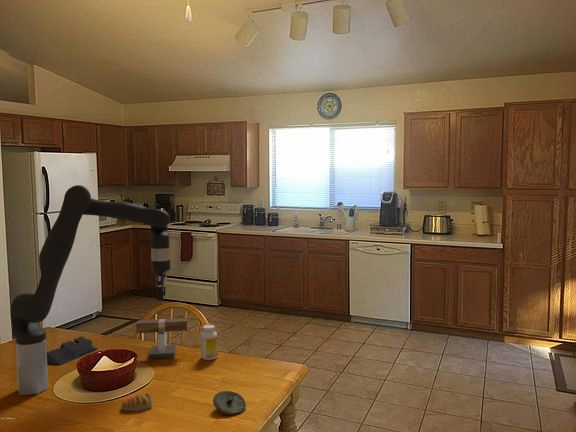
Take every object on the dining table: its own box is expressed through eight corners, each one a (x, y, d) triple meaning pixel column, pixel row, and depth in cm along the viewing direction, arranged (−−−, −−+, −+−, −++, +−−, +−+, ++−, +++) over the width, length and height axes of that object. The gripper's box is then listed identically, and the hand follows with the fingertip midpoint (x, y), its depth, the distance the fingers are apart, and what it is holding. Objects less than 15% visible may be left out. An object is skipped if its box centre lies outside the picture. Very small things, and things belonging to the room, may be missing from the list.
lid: (230, 398, 161) (229, 383, 160) (252, 407, 155) (252, 391, 154) (206, 410, 153) (206, 395, 152) (229, 420, 147) (229, 404, 146)
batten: (186, 330, 200) (186, 320, 200) (136, 333, 197) (136, 323, 196) (187, 327, 204) (187, 318, 204) (137, 330, 201) (137, 320, 200)
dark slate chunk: (30, 361, 194) (30, 350, 194) (75, 344, 214) (74, 333, 214) (58, 367, 188) (58, 355, 188) (101, 349, 208) (101, 338, 208)
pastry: (123, 415, 150) (122, 403, 150) (119, 406, 156) (119, 395, 155) (154, 408, 154) (153, 396, 154) (149, 400, 160) (148, 389, 160)
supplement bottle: (221, 356, 198) (220, 325, 197) (210, 361, 193) (209, 330, 192) (208, 353, 202) (208, 323, 201) (197, 358, 196) (197, 327, 195)
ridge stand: (174, 357, 197) (173, 333, 196) (148, 359, 195) (148, 334, 195) (176, 349, 207) (175, 326, 206) (151, 350, 205) (151, 327, 204)
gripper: (168, 261, 192) (169, 302, 193) (171, 255, 206) (172, 293, 207) (149, 262, 190) (150, 302, 192) (153, 256, 204) (154, 294, 206)
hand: (161, 298), depth 199 cm, fingers open, 8 cm apart
